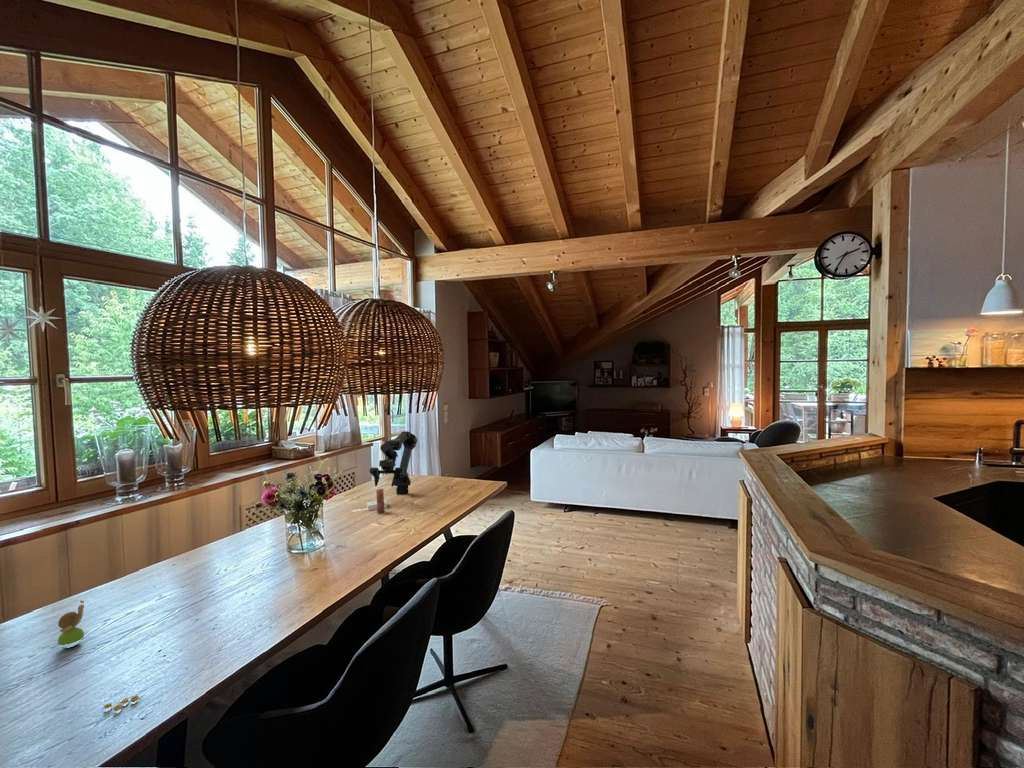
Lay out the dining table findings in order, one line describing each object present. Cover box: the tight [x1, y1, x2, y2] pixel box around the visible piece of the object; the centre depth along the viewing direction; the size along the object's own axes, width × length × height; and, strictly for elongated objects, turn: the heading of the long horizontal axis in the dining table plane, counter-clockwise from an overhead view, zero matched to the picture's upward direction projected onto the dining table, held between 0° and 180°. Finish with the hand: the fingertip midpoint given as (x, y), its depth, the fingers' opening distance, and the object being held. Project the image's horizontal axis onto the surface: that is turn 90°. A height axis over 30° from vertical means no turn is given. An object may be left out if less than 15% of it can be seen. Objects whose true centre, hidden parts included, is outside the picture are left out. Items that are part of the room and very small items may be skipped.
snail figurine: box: [57, 600, 85, 646], centre depth 131 cm, size 5×6×12 cm
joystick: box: [375, 488, 387, 515], centre depth 234 cm, size 5×5×14 cm
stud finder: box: [366, 499, 388, 511], centre depth 243 cm, size 10×6×3 cm, turn 113°
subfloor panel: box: [350, 508, 368, 513], centre depth 245 cm, size 19×17×1 cm
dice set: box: [103, 694, 140, 712], centre depth 107 cm, size 5×5×2 cm
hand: (383, 486), depth 242 cm, fingers open, 9 cm apart
